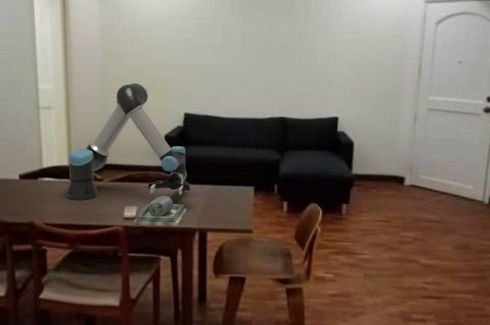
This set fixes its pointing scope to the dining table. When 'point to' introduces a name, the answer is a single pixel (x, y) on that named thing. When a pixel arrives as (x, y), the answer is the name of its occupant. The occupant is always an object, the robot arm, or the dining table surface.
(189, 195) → the dining table surface
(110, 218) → the dining table surface
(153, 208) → the spool
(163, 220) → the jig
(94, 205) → the dining table surface
